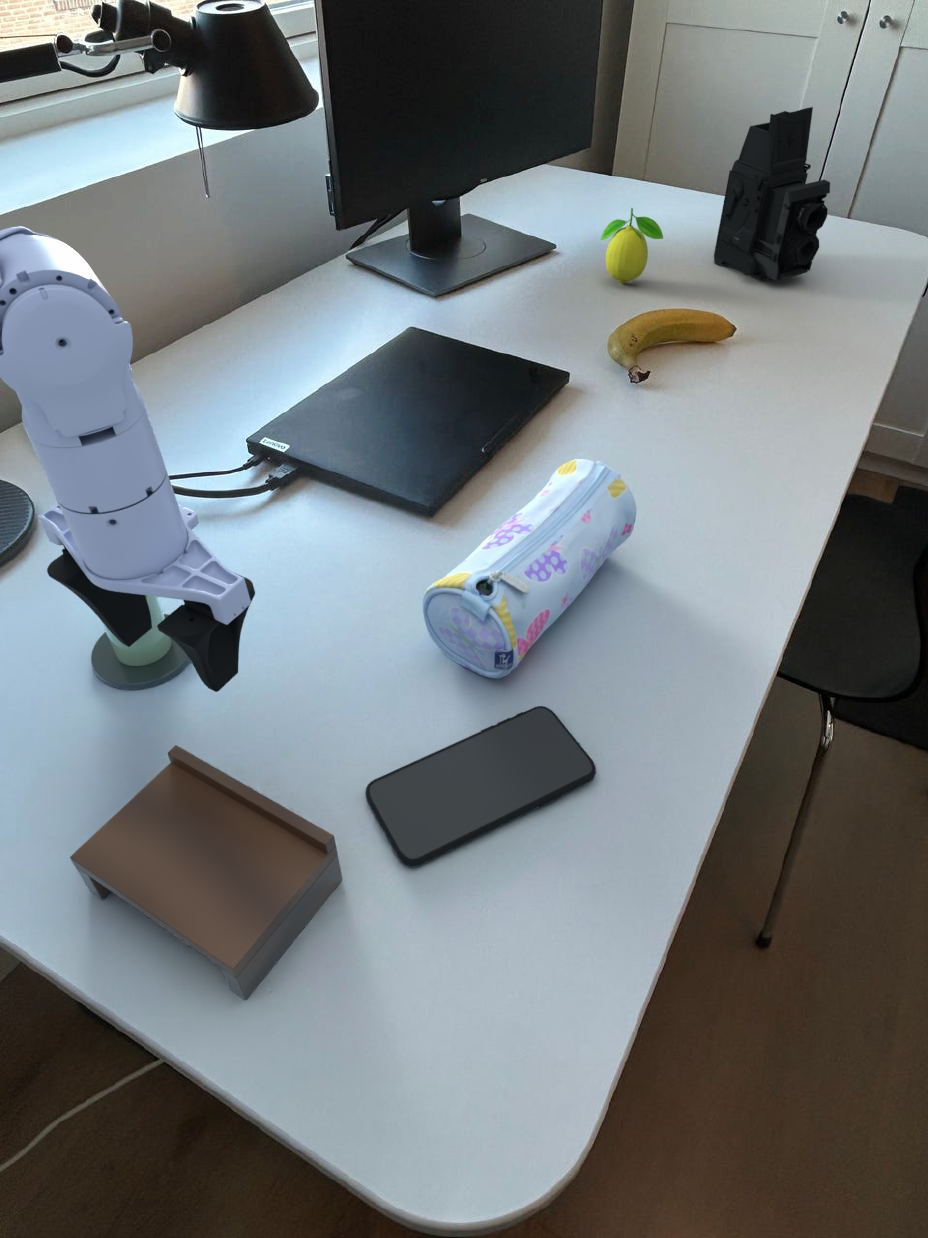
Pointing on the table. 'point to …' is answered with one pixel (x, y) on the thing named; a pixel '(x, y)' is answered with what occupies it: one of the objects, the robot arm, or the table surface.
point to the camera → (772, 202)
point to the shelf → (214, 866)
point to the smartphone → (478, 784)
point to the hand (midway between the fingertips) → (179, 657)
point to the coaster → (136, 676)
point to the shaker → (144, 640)
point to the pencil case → (529, 569)
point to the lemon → (629, 247)
